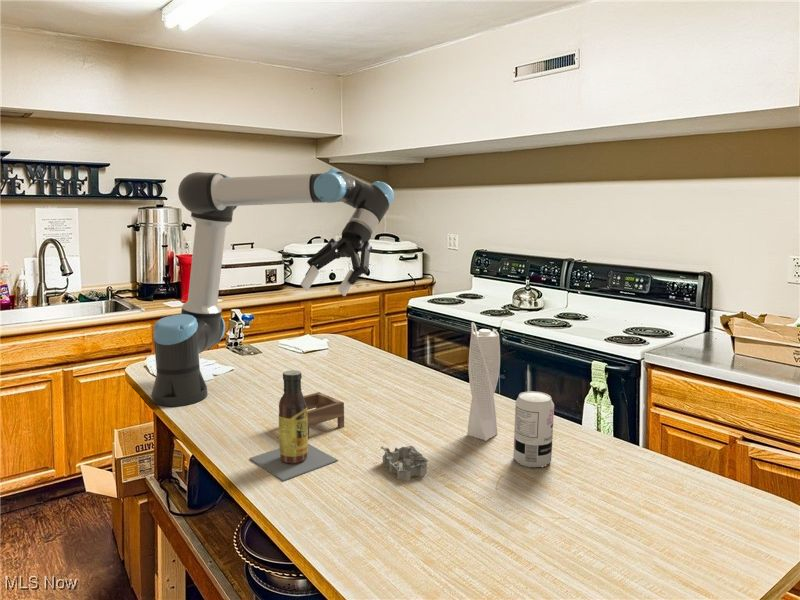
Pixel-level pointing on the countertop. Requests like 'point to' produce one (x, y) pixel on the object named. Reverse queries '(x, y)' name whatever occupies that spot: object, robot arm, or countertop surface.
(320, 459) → the slate mat
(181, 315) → the robot arm
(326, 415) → the wooden square frame
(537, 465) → the supplement can
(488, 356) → the skyscraper
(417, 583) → the countertop surface
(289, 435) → the sauce bottle
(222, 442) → the countertop surface
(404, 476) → the egg carton
